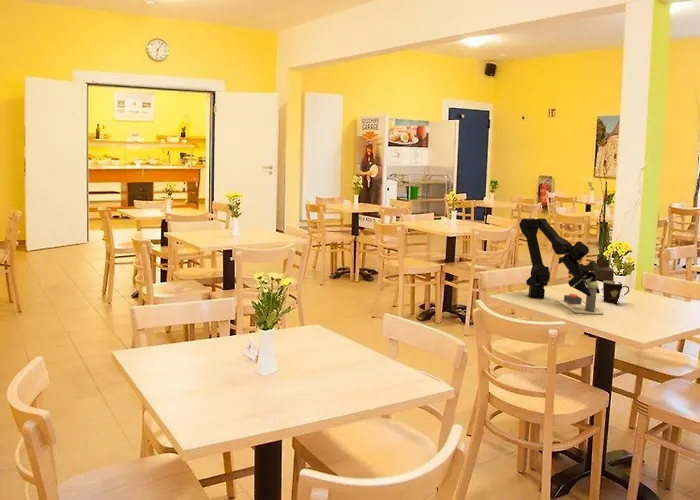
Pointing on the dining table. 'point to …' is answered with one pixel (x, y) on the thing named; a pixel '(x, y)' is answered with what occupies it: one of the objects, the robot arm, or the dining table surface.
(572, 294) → the button
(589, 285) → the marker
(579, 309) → the colouring board
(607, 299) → the coffee mug
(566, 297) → the button housing
